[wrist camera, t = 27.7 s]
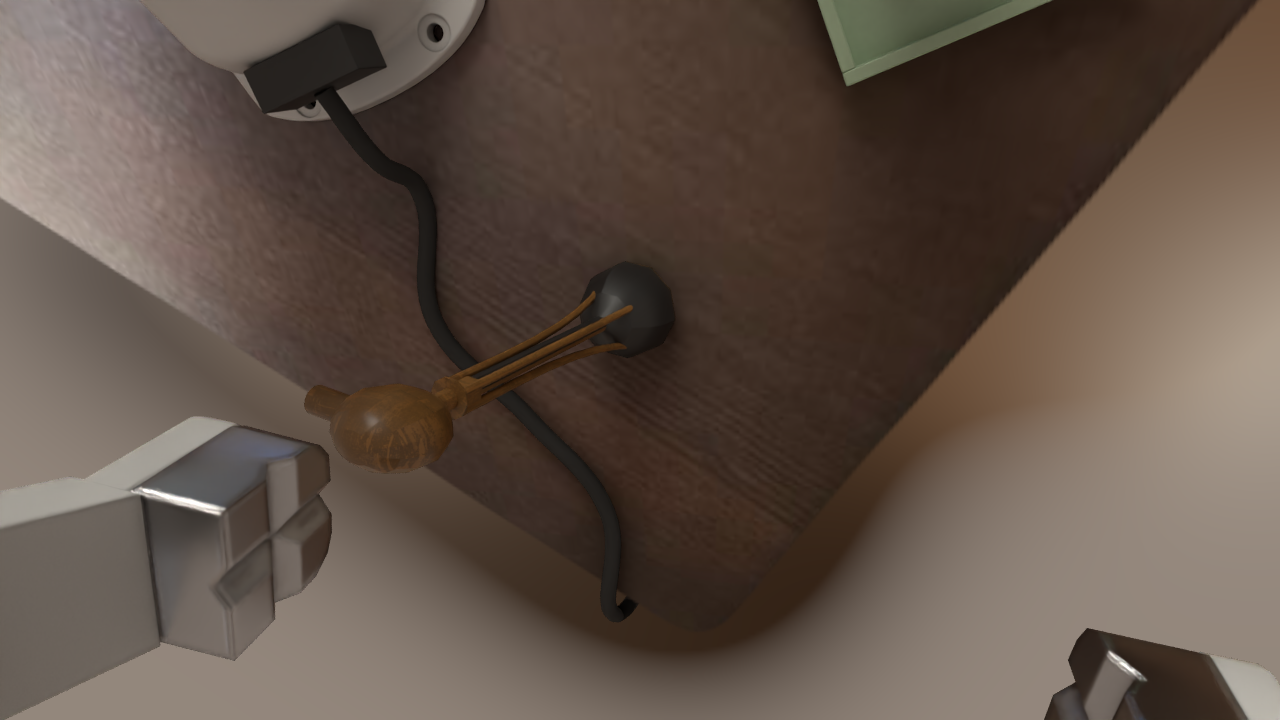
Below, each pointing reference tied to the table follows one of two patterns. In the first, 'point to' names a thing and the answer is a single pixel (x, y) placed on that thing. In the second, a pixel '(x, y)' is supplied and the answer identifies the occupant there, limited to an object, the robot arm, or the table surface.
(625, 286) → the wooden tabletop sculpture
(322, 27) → the robot arm
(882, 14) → the tray
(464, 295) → the table surface
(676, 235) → the table surface
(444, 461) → the table surface
